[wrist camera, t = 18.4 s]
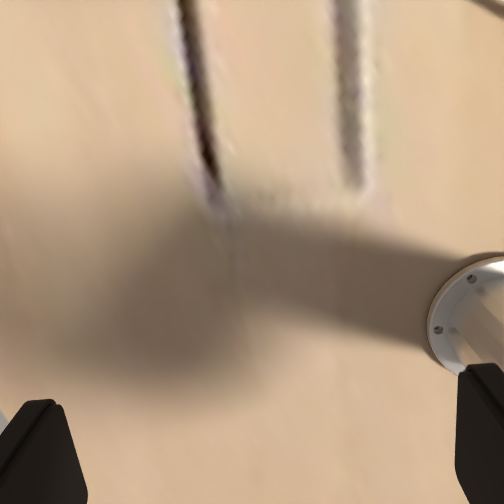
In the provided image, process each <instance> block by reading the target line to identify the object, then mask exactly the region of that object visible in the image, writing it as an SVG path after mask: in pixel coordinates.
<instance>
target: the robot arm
mask: <svg viewBox="0 0 504 504" xmlns="http://www.w3.org/2000/svg"><path fill="white" fill-rule="evenodd" d="M469 275H470V276H469ZM468 276H469V277H468ZM467 277H468V278H467ZM426 329H427V336H428V341H429V343H430V346H431V348H432V351H433V352H434V354H435V355H436V357H437V359H438V360H439V361H440V362H441V363H442V364H443V366H444V367H445V368H446V369H448V370H449V371H451V372H452V373H453V374H455V375H457V376H458V391H457V416H456V442H455V471H456V475H457V478H458V481H459V483H460V485H461V487H462V489H463V491H464V493H465V495H466V497H467V499H468V501H469V503H470V504H504V256H501V257H492V258H489V259H485V260H481V261H478V262H476V263H474V264H471V265H469V266H467V267H465V268H464V269H462V270H461V271H459V272H458V273H456V274H455V275H454V276H452V277H451V278H450V279H449V280H448V281H447V282H446V283H445V284H444V285H443V286H442V288H441V289H440V290H439V292H438V293H437V294H436V296H435V298H434V300H433V302H432V304H431V306H430V309H429V313H428V317H427V328H426ZM87 500H88V491H87V487H86V483H85V480H84V477H83V473H82V470H81V467H80V463H79V460H78V457H77V453H76V450H75V446H74V443H73V440H72V436H71V433H70V430H69V426H68V423H67V420H66V416H65V413H64V410H63V407H62V406H61V405H59V404H58V405H56V402H55V401H54V400H53V399H43V400H31V401H27V402H25V403H24V404H23V406H22V407H21V408H20V410H19V411H18V412H17V413H16V415H15V416H14V417H13V419H12V420H11V421H10V423H9V424H8V425H7V427H6V428H5V429H4V431H3V432H2V434H1V435H0V504H87Z"/></svg>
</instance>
